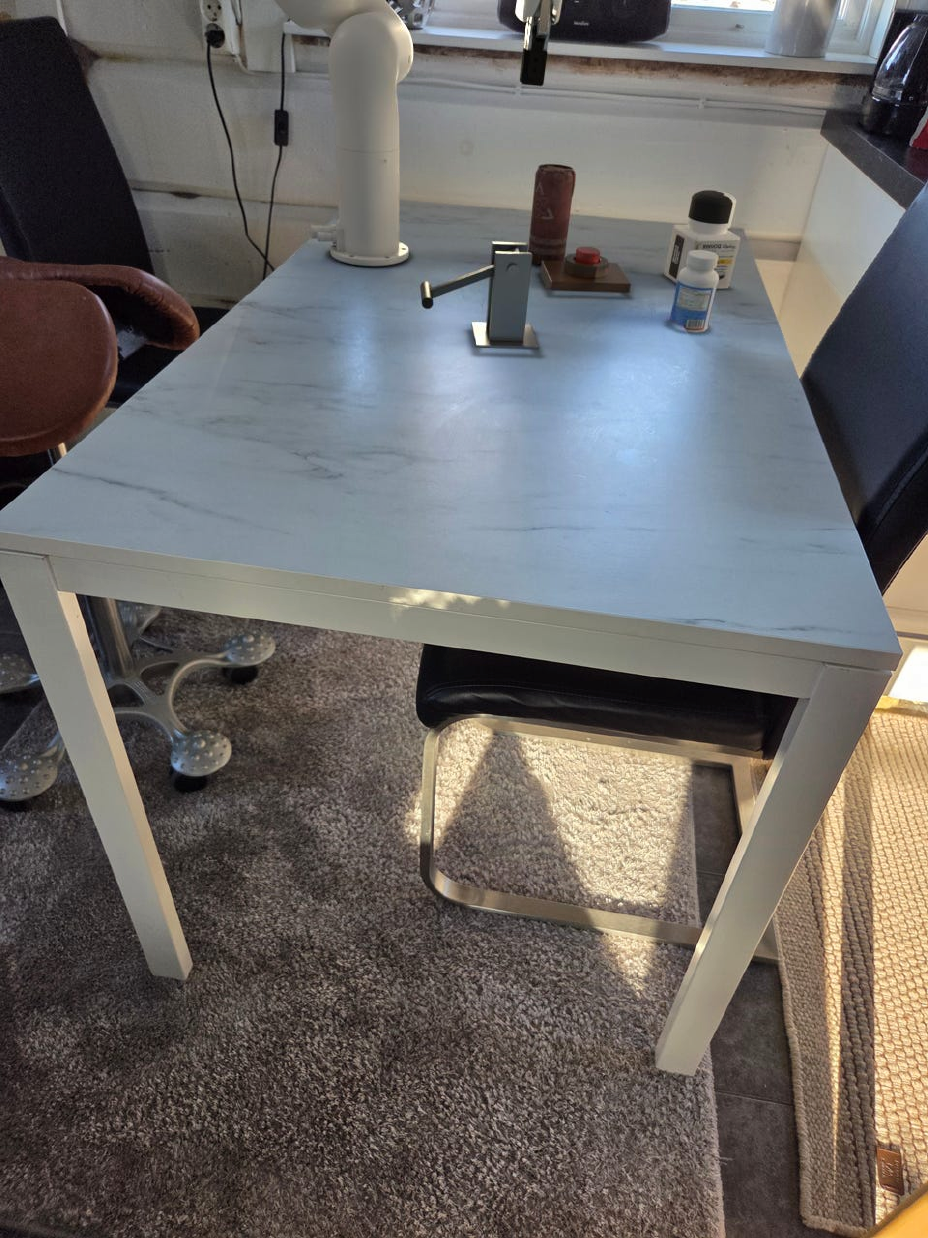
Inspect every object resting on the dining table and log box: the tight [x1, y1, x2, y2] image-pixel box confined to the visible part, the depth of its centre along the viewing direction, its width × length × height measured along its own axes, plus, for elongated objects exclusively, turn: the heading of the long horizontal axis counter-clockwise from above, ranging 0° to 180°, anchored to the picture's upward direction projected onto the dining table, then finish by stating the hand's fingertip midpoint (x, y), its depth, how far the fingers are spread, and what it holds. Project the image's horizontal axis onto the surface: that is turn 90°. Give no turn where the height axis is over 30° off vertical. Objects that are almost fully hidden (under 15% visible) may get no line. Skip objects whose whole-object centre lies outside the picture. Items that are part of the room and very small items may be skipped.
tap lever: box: [419, 247, 519, 310], centre depth 102 cm, size 13×6×2 cm, turn 94°
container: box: [663, 189, 741, 290], centre depth 128 cm, size 8×8×13 cm
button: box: [575, 246, 601, 264], centre depth 125 cm, size 4×4×2 cm
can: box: [527, 163, 577, 267], centre depth 132 cm, size 6×6×14 cm
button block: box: [540, 252, 632, 294], centre depth 126 cm, size 12×10×4 cm
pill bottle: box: [669, 250, 719, 334], centre depth 113 cm, size 6×5×10 cm
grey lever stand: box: [471, 241, 540, 350], centre depth 104 cm, size 8×8×12 cm
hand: (531, 83), depth 115 cm, fingers closed
